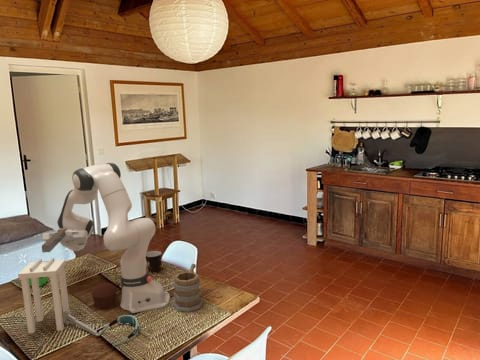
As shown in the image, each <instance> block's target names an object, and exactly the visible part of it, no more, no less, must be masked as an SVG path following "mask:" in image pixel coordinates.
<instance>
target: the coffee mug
mask: <svg viewBox="0 0 480 360" xmlns="http://www.w3.org/2000/svg"><path fill="white" fill-rule="evenodd" d="M161 259H162V251H158V250H152V251H151V250H150V251H147V252H146V268H147V272H148V271H149V272H157V273H159V272H160V271H161V266H162V261H161ZM158 271H159V272H158Z"/></svg>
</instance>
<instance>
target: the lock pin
mask: <svg viewBox="0 0 480 360" xmlns="http://www.w3.org/2000/svg"><path fill="white" fill-rule="evenodd" d="M64 231H67V228H58V230H57V231H55V232H56V233H55V234H54V235H53V236H51V237H50V238H49V239H48V240H47V241H46V242H45V241H44V243H43V244H42V245H41V252H42V253H51V252H52V251H53V250H54V248H56V247H57V245H58V244H59V243H60V241H61V240H62V239H63V238H64V237H65V236H66V235H64Z"/></svg>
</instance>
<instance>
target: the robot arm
mask: <svg viewBox="0 0 480 360" xmlns="http://www.w3.org/2000/svg"><path fill="white" fill-rule="evenodd" d="M121 176H122V175H121V170H120V168H119V166H118V165H117V164H116V163H114V162H107V163H102V164H92V165H90V166H87V167H82V168H78V169H76V170H74V171H73V173H72V176H71V177H72V184H73V186H74V188H73V189H71V190H69V191H68V193H67V194H66V197H65V199H64V200H63V205H62V208H61V211H60V214H59V217H58V219H57V222H56V224H57V226H58V229H60V228H67V231H64V235H66V236H65V237H64V238H63V239H62V240H61V241H60V242H59V243H60V244H61V246H62V247H64V248H67V249H68V250H70V251H74V252H78V251H81V250H83V249H84V248H85V246H86V244H88V239H90V238H91V236H92V235H93V232H94V231H95V225H94V221H93V220H92V219H90V218H87V217H86V216H82V215H79V214H76V213H74V211H73V207H74V205H89V204H91V203H92V202H94V200H96V198H97V195H98V192H99V194H100V197H101V199H102V202H103V205H104V208H105V210H106V212H107V217H108V219H107V220H108V222H107V224H108V225H107V228H106V231H104V234H103V236H102V237H103V238H102V239H103V244H104V246H105V247H106V249H108V251H111V252H118V251H122V250H123V251H124V250H125V252H124V253H123V254H122V255H121V258H120V261H119V263H120V273H121V275H120V287H121V301H120V307H121V308H122V310H125V311H129V312H130V313H131V314H135V313H139V312H140V313H141V312H146V311H150V310H157V309H161V308H165V307H167V306H168V305H169V304H170V302H171V295H170V293H169V292H168V291H165V288H164V285H163V284H161V282H158V281H157V280H154V279H152V273H151V272H150V273H149V272H148V270H147V262H146V253H148V247H149V244H150V243H151V240H152V238H153V237H154V235H155V234H156V225H155V222H154V221H153V219H151V218H150V217H140V218H135V219H133V220H130V221H129V217H128V215H129V212H130V211H131V210H132V207H133V204H132V200H131V199H130V197H129V193H128V191H127V189H126V187H125V185H124V183H123V181H122V179H121ZM56 232H57V231H54V232H44V233H42V238H41V239H42V241H43V242H44V243H45V242H46V241H47V240H48V239H49V238H50V237H51V236H53V235H54V234H55V233H56Z"/></svg>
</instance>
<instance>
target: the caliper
mask: <svg viewBox="0 0 480 360" xmlns="http://www.w3.org/2000/svg"><path fill="white" fill-rule="evenodd" d="M68 313H69V312H67V310H66V311H65V312H64V313H63V312H62V317H63V325H67V326H68V325H70V323H71V324H72V325H76V326H78V327H80V328H81V329H83V330H85V331H86V332H88V333H89V334H91V335H93V336H96V337H97V336H98V335H99V333H98V331H97V330H95V329H93V328H92V327H90V326H89V325H87V324H85V323H83V322H82V321H80V320H78V319H77V318H76V317H75V316H73V315H71V313H70V314H68Z"/></svg>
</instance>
